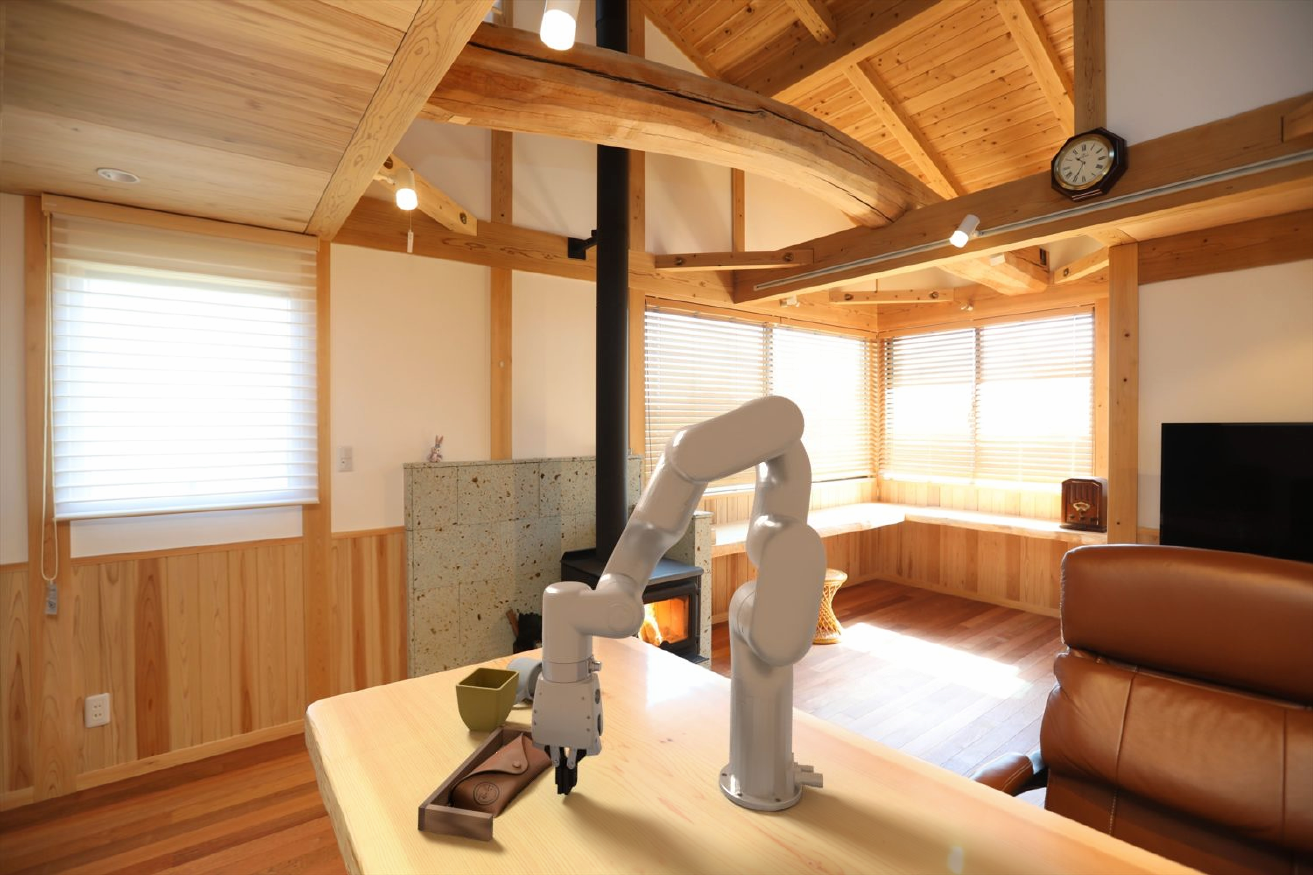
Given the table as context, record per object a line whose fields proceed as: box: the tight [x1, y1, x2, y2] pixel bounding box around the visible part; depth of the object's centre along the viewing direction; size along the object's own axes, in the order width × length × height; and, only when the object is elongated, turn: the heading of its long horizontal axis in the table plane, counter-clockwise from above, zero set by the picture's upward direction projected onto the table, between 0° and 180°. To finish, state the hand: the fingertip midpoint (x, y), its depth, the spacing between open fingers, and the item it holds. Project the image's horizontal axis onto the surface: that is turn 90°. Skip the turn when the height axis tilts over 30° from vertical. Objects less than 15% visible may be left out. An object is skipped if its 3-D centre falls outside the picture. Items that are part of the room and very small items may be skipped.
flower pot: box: [455, 666, 519, 733], centre depth 110 cm, size 9×9×9 cm
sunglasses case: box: [449, 733, 553, 819], centre depth 93 cm, size 18×7×7 cm, turn 159°
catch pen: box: [417, 724, 533, 842], centre depth 91 cm, size 10×24×3 cm, turn 168°
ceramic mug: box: [506, 656, 542, 706], centre depth 122 cm, size 11×8×8 cm
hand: (566, 789), depth 89 cm, fingers closed
